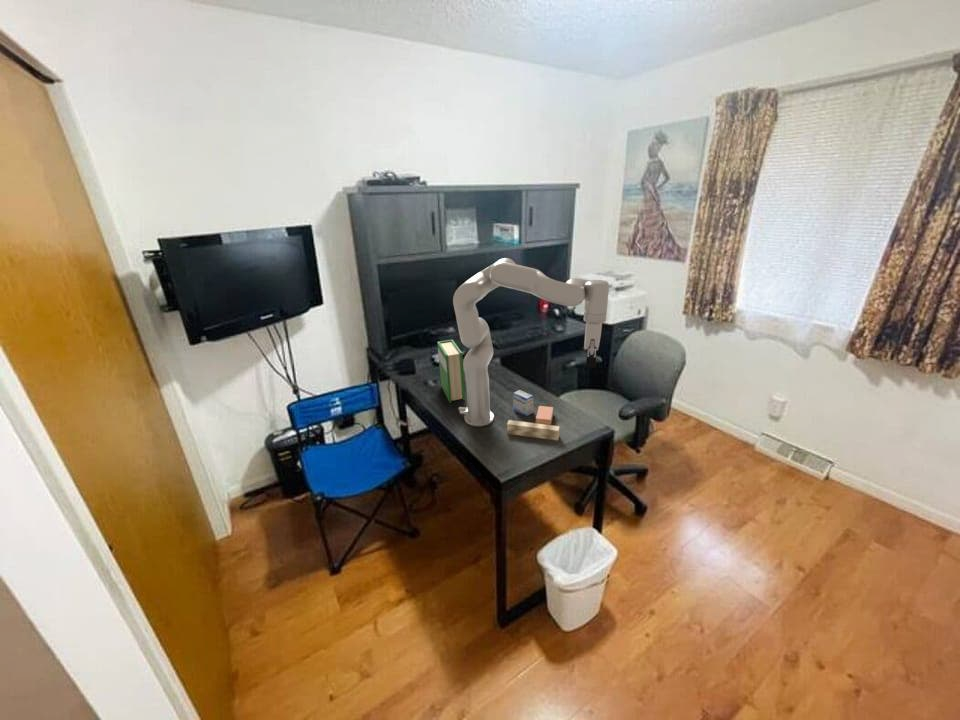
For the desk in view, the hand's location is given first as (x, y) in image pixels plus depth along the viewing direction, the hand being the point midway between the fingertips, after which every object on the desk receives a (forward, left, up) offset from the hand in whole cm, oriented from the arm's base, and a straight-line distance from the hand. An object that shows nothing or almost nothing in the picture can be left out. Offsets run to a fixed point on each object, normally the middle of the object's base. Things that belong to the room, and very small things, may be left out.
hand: (591, 361), depth 140 cm
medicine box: (-27, +9, -30) cm, 41 cm away
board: (-20, -8, -30) cm, 37 cm away
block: (-17, +4, -30) cm, 35 cm away
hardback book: (-63, +18, -30) cm, 72 cm away
